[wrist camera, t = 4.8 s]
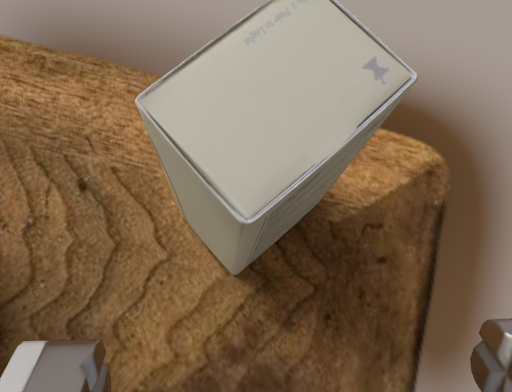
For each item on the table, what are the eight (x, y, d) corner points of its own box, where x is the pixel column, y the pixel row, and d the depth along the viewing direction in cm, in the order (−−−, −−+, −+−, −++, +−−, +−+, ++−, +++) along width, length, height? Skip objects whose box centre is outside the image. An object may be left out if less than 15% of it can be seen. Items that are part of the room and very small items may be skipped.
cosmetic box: (266, 145, 23) (310, -37, 12) (323, 204, 22) (429, 71, 11) (176, 218, 22) (123, 91, 10) (234, 284, 21) (247, 228, 9)
